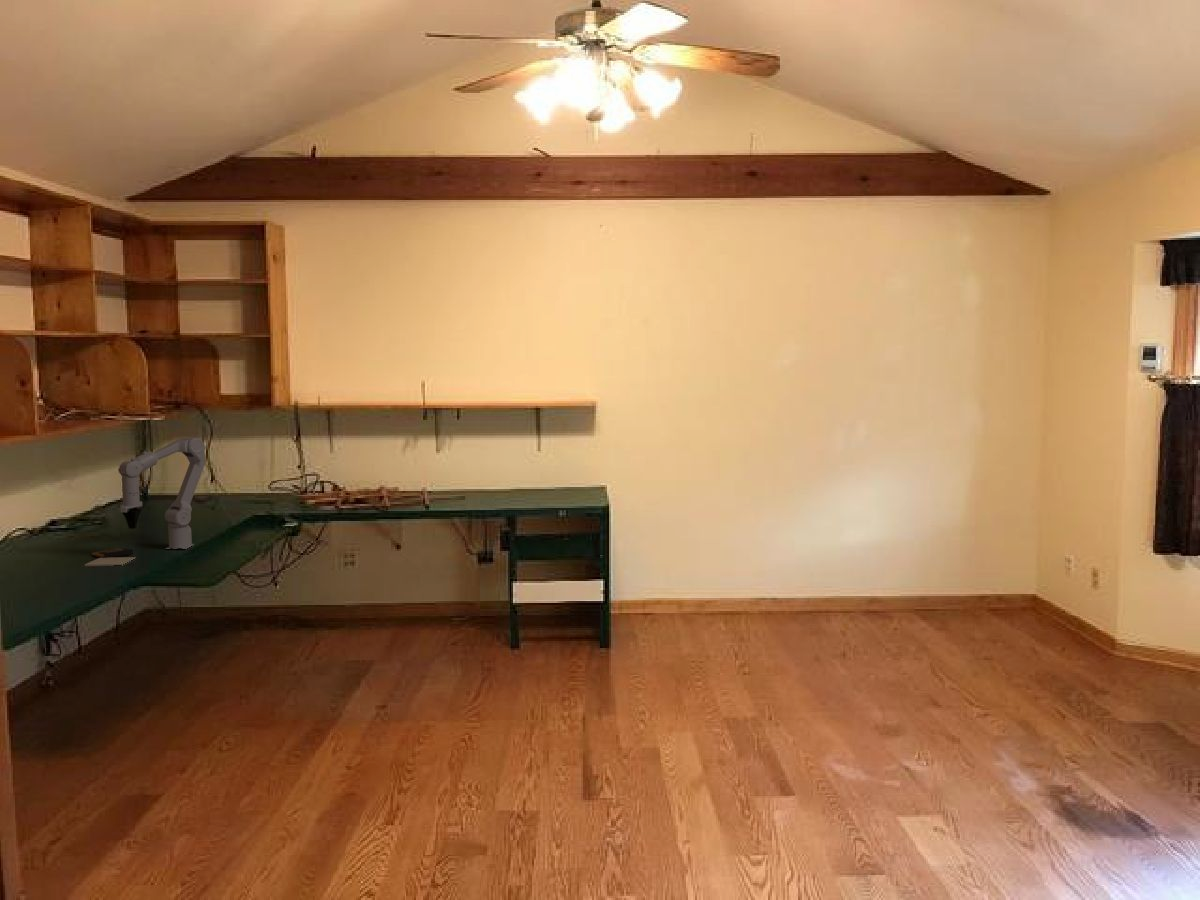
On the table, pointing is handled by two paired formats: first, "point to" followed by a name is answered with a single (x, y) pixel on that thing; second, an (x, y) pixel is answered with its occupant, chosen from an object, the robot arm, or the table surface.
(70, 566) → the table surface
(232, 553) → the table surface
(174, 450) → the robot arm
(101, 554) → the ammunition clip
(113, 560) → the mat
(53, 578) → the table surface
